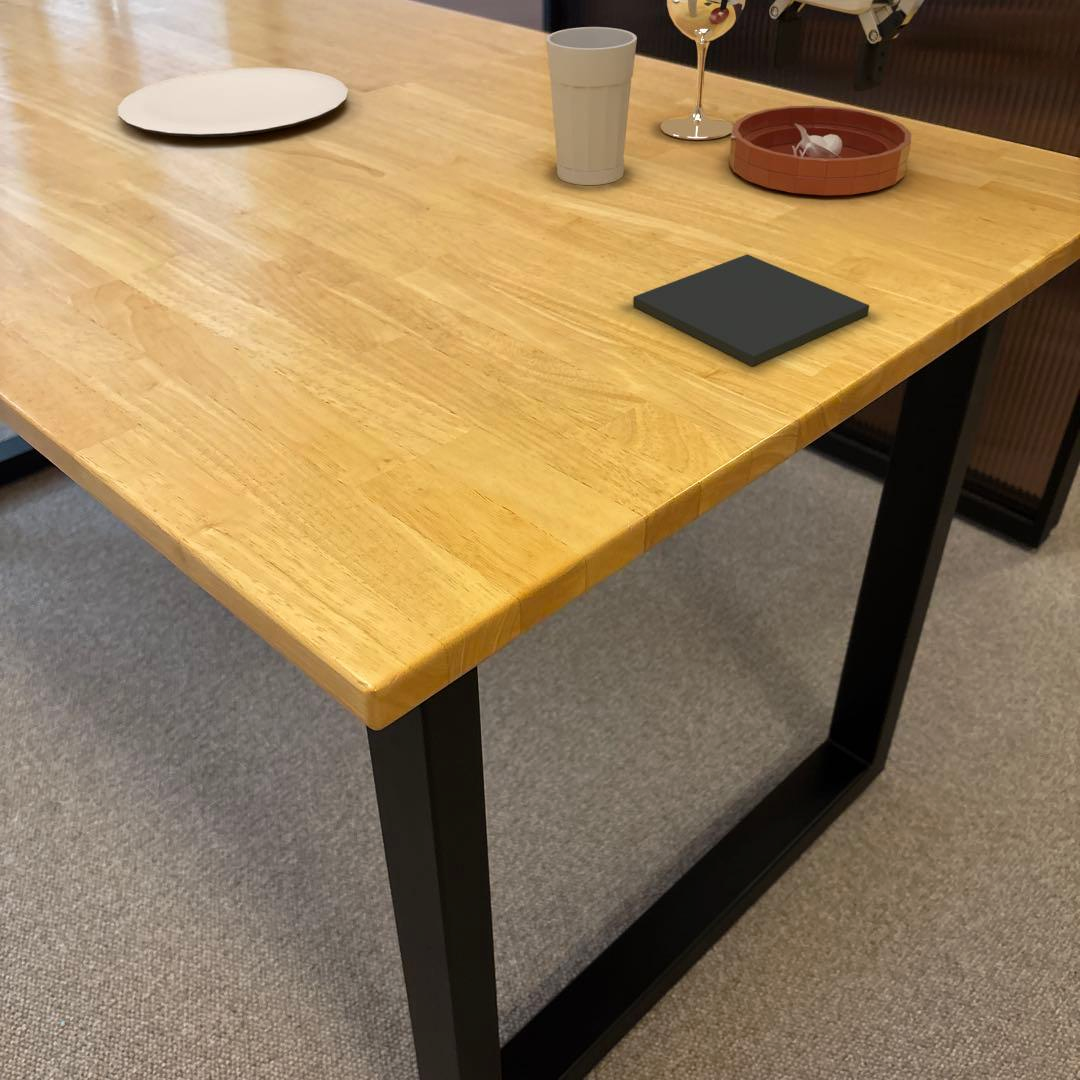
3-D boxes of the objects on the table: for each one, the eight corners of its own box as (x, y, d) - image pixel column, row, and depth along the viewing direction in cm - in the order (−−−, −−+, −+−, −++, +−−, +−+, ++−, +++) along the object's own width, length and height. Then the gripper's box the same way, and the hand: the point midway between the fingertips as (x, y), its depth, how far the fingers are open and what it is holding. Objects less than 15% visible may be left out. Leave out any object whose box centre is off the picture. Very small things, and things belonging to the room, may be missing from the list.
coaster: (867, 315, 78) (869, 305, 78) (752, 366, 72) (753, 356, 72) (746, 263, 86) (747, 253, 85) (632, 306, 80) (633, 296, 79)
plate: (107, 157, 109) (103, 140, 108) (132, 89, 128) (128, 74, 127) (356, 137, 113) (354, 120, 112) (343, 74, 132) (342, 59, 131)
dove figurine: (866, 166, 100) (858, 119, 97) (822, 190, 100) (813, 144, 96) (821, 140, 106) (812, 95, 103) (780, 163, 106) (769, 118, 103)
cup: (531, 172, 103) (528, 37, 96) (593, 153, 107) (594, 22, 100) (587, 194, 98) (588, 54, 91) (649, 174, 102) (655, 37, 95)
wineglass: (715, 145, 108) (734, -82, 96) (646, 134, 112) (655, -88, 100) (746, 124, 114) (767, -95, 101) (679, 114, 117) (691, -99, 105)
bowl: (940, 171, 101) (948, 133, 99) (825, 213, 94) (831, 173, 92) (807, 131, 112) (811, 95, 109) (694, 166, 104) (696, 128, 102)
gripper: (978, -141, 84) (929, 90, 94) (806, -160, 94) (780, 49, 105) (917, -133, 80) (874, 106, 91) (746, -154, 91) (725, 62, 101)
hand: (823, 76), depth 98 cm, fingers open, 9 cm apart
